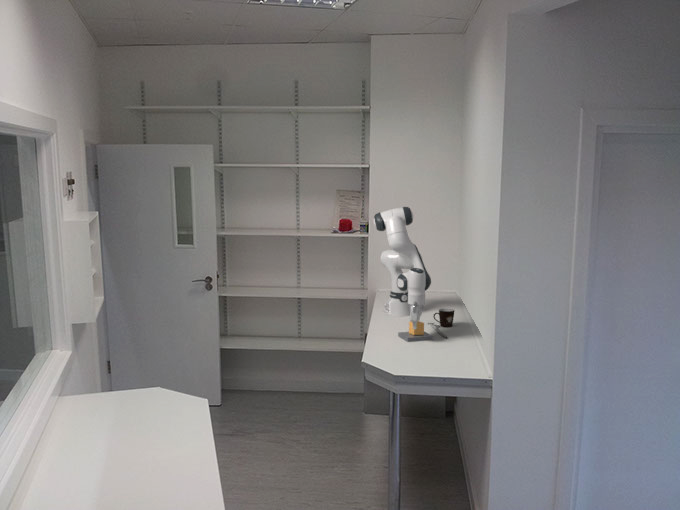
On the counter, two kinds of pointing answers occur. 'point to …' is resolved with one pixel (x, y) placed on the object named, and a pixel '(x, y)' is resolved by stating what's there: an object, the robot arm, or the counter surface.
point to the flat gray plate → (414, 336)
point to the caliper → (437, 329)
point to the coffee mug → (445, 317)
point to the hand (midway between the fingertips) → (416, 326)
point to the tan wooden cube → (419, 328)
